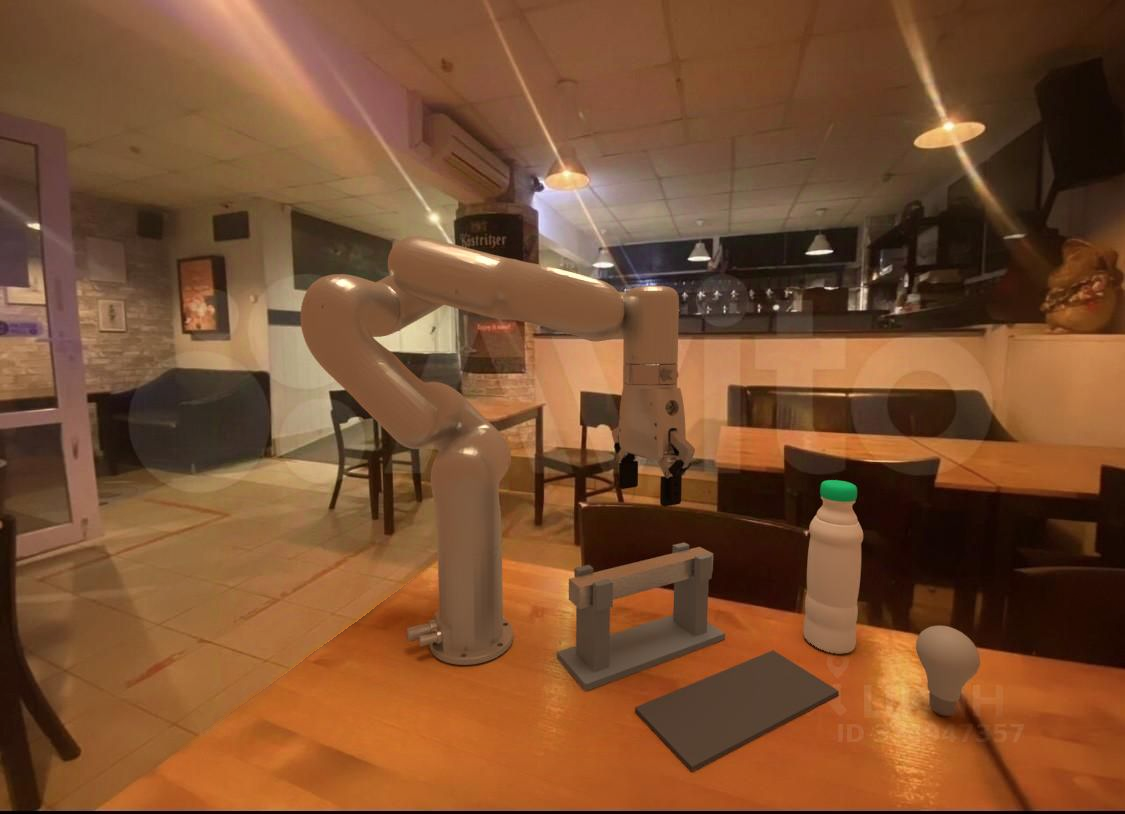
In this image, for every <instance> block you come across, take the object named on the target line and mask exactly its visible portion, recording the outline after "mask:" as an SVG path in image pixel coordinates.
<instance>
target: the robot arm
mask: <svg viewBox="0 0 1125 814" xmlns="http://www.w3.org/2000/svg"><path fill="white" fill-rule="evenodd" d="M387 269H388V273H389V275H387V276H385V277H383V278H381V279H380V280H378V281H372V280H370V279H366V278H363V277H360V276H356V275H351V274H345V273H340V274H339V273H338V274H329V275H325V276H321V277H320V278H318V279H316V280H315V281H313V282H312V284H310V286H309V287H308V288H307V290H306V292H305V294H304V296H303V299H302V303H301V305H300V306H301V307H300V327H301V332H302V336H303V338H304V339H303V340H304V341H305V343H306V346H307V348H308V350H309V351H310V353H311V355H312V356H313V358H314V359H315V360H316V362H317V363H318V364H319V366H321V367H322V369H323V370H324V371H325V372H326V373H327V374H328V375H330V376H331V378H333V379H334V380H335V382H337V384H339V385H340V386H341V387H342V388H343V389H344V390H345V391H346V392H347V393H348V394H350V396H351V397H353V399H354V400H355V401H356V402H357V403H358V404H359V405H360V406H361V408H363V409H364V410H365V411H366V412H367V413H368V414H369V415H370V416H371V418H373V419H374V420H375V421H376V422H377V423H378V424H379V425H380V426H381V427H382V429H384V430H385V431H386V432H387V433H388V434H389V435H390V437H391V438H393V439H394V441H396V442H397V443H398V444H400V445H401V446H403V447H404V448H408V449H411V450H420V449H424V448H427V447H430V446H432V445H433V446H434V447H435V449H436V450H438V451H439V452H438V453H437V455H436V457H435V459H434V460H433V463H432V466H431V471H430V472H431V473H430V486H431V493H432V500H433V502H434V503H433V504H434V511H435V523H436V543H437V544H436V546H437V547H436V548H437V571H438V573H437V577H438V581H437V582H438V583H437V584H438V607H439V608H438V611H434V612H433V619H431V620H430V619H429V620H428V621H427V623H425V624H418V625H414V626H413V625H412V626H410V627H407V628H406V638H407V641H408V642H409V643H410V642H414V641H417V640H418V641H419V646H420V647H421V648H422V647H425V646H428V645H429V650H430V652H431V653H432V655H433V656H434V657H435V658H436V659H439V660H440V661H442V662H444V663H446V664H447V663H448V664H450V665H451V664H452V665H457V666H458V665H459V666H471V665H479V664H483V663H486V662H489V661H492V660H494V659H496V658H498V657H499V656H501V655H502V654H504V653H505V652H506V651H507V650H508V649H509V648H511V645H512V643H513V640H514V629H513V626H512V624H511V623H510V622H509V621H508V620H507V619H506V618H505V617H504V614H503V613H504V612H503V611H504V605H503V603H504V601H503V598H504V597H503V596H504V595H503V593H504V592H503V539H502V537H503V536H502V534H503V532H502V530H503V529H502V512H501V504H500V482H501V481H502V480H503V478H504V477H505V475H506V474H507V473H508V470H509V469H510V468H509V467H510V465H511V461H512V452H511V448H510V445H509V443H508V441H507V439H506V438H505V437H504V435H502V433H501V432H500V431H499V430H498V429H497V428H496V427H495V426H494V425H493V424H492V423H491V422H490V421H489V420H488V419H487V418H486V417H485V416H484V415H483V414H482V413H481V412H480V411H479V410H478V409H477V408H476V407H475V406H474V405H473V404H472V403H471V402H470V401H468V399H467V398H465V396H464V395H462V393H460V392H459V391H458V390H457V389H455V388H454V387H452V386H450V385H448V384H446V383H444V382H443V383H442V382H439V381H427V382H425V381H423V380H422V379H421V378H419V377H418V376H417V375H415V374H414V373H413V372H412V371H411V370H410V369H409V368H408V367H407V366H406V365H405V364H404V363H403V362H402V361H401V360H400V359H399V358H398V356H396V355H395V354H394V353H393V352H392V351H390V350H389V349H388V348H387V347H385V346H384V345H383V344H381V343H380V342H378V341H377V340H376V339H375V338H381V337H385V336H389V335H392V334H395V333H396V332H398V331H400V330H403V329H404V328H406V327H409V325H411V324H413V323H415V322H417V321H419V320H421V319H423V318H424V317H426V316H427V315H429V314H432V313H433V312H435V311H436V310H438V309H440V308H442V307H443V306H446V307H447V306H448V307H451V308H455V309H458V310H463V311H466V312H469V313H472V314H476V315H480V316H485V317H488V318H492V319H495V320H501V321H502V320H504V321H505V320H510V321H512V320H513V321H518V322H524V323H527V324H531V325H535V326H540V327H544V328H548V329H550V330H555V331H559V332H562V333H565V334H569V335H573V336H576V337H580V338H582V339H584V340H587V341H589V342H603V341H604V342H605V341H610V340H618V339H623V344H622V345H623V349H622V350H623V362H622V363H623V364H622V368H623V369H622V391H621V397H620V405H619V416H618V417H619V419H618V426H617V427H616V428H614V429H612V430H611V436H612V440H613V443H614V444H613V448H614V450H615V452H616V461H617V463H618V488H619V489H620V490H625V489H626V490H627V489H632V488H637V487H638V486H639V461H638V460H636V458H637V457H640V458H644V459H647V460H651V461H655V462H657V463H658V466H659V467H660V469H661V471H662V473H663V476H661V477H660V485H659V486H660V487H659V491H660V493H659V495H660V496H659V502H660V503H659V504H660V506H662V507H664V508H665V507H670V506H676V505H680V504H681V503H682V485H683V483H682V480H683V479H682V478H683V477H684V476H686V473H687V470H688V469H689V468H690V467H691V462H692V460H693V458H694V456H695V453H696V449H695V447H694V446H693V445H692V444H691V443H690V442H689V441H687V437H686V435H687V434H686V432H687V431H686V417H685V407H684V400H683V394H682V393H683V392H682V389H681V388H680V387H678V378H679V372H678V367H679V365H678V361H679V359H678V358H679V321H680V320H679V319H680V318H679V317H680V316H679V312H680V309H679V307H680V300H679V299H680V298H679V297H680V296H679V294H678V292H677V290H676V289H674V288H672V287H670V286H664V285H644V286H637V287H633V288H630V289H628V290H627V291H618V290H617V289H616V288H615V287H614V285H611V284H610V283H608V282H606V281H604V280H601V279H599V278H598V279H597V278H595V277H591V276H589V275H583V274H580V273H576V272H572V271H569V270H564V269H561V268H557V267H553V266H548V265H544V264H543V265H542V264H538V263H532V262H527V261H523V260H519V259H515V258H509V257H504V256H502V255H501V256H500V255H496V254H491V253H489V252H484V251H480V250H476V249H472V248H469V247H465V246H462V245H458V244H454V243H449V242H446V241H443V240H439V239H435V238H432V237H431V238H430V237H426V236H419V235H418V236H417V235H413V236H411V235H410V236H407V237H404V238H402V239H400V240H399V241H397V242H396V243H395V244H394V245H393V247H392V248H391V250H390V252H389V254H388V258H387ZM669 462H671V463H672V465H670V464H669Z"/></svg>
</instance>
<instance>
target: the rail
mask: <svg viewBox="0 0 1125 814" xmlns="http://www.w3.org/2000/svg"><path fill="white" fill-rule="evenodd" d="M703 554H709V555H711V556H712V573H713V569H714V553H713V552H711V551H709V550H707V549H705V548H703V547H701V546H698V547H693V548H689V549H688V550H684V551H680V552H676V553H669V554H664V555H661V556H656V557H652V558H649V559H644V560H640V561H637V562H636V561H635V562H632V563H627V564H624V565H620V566H615V567H612V568H608V569H607V568H606V569H603V570H599V571H595V572H594V571H593V573H590V574H586V575H582V576H578V577H574V576H573V577H571V578H570V577H569V578H568V600H569V601H570V602H571V603H572V604H573V605H574V606H575V607H576V606H577V607H578V608H579V609H582V608H586V607H589V606H593V582H597V581H601V580H605V579H609V580H611V581H612V582H613V601H615V600H617V599H620V598H624V597H628V596H632V595H635V594H639V593H643V592H645V591H650V590H653V589H657V588H660V587H665V586H667V585H671V584H674V583H675V582H679V581H682V580H686V579H689V578H693V577H694V566H695V556H699V555H703Z"/></svg>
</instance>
